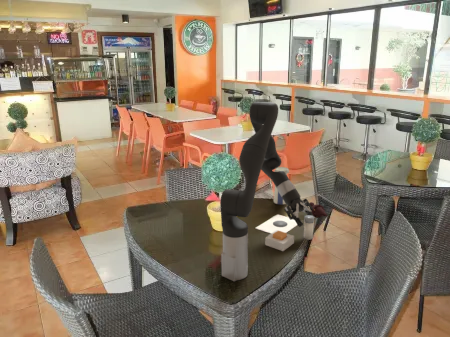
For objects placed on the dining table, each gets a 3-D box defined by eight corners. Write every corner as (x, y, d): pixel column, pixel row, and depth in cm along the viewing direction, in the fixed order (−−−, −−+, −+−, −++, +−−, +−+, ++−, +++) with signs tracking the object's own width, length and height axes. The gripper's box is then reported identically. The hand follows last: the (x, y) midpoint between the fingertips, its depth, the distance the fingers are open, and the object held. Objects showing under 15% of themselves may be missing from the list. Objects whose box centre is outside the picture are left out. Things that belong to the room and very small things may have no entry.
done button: (281, 242, 159) (281, 236, 159) (272, 239, 162) (273, 234, 161) (286, 238, 163) (286, 233, 162) (278, 235, 165) (278, 230, 164)
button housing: (283, 251, 157) (283, 243, 156) (265, 244, 162) (265, 237, 161) (293, 243, 164) (294, 235, 163) (276, 237, 169) (276, 230, 168)
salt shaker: (310, 240, 166) (311, 219, 163) (301, 238, 168) (302, 217, 165) (314, 237, 169) (315, 216, 166) (306, 234, 171) (307, 214, 168)
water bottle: (272, 204, 206) (273, 160, 199) (273, 198, 214) (275, 156, 207) (287, 205, 204) (288, 161, 197) (288, 199, 212) (290, 157, 205)
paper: (280, 236, 169) (280, 236, 169) (255, 228, 178) (255, 227, 178) (302, 222, 184) (302, 221, 184) (277, 214, 193) (277, 214, 192)
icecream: (334, 209, 183) (316, 201, 196) (322, 207, 180) (304, 199, 193) (331, 222, 183) (313, 214, 197) (319, 221, 181) (301, 212, 194)
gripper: (282, 192, 165) (302, 224, 160) (303, 184, 174) (322, 215, 169) (273, 200, 170) (292, 231, 165) (293, 192, 179) (312, 222, 174)
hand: (307, 223), depth 167 cm, fingers open, 8 cm apart
